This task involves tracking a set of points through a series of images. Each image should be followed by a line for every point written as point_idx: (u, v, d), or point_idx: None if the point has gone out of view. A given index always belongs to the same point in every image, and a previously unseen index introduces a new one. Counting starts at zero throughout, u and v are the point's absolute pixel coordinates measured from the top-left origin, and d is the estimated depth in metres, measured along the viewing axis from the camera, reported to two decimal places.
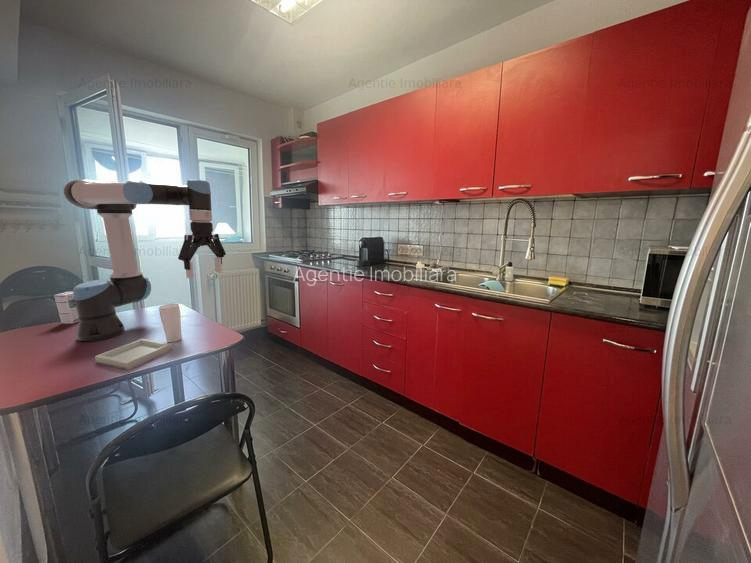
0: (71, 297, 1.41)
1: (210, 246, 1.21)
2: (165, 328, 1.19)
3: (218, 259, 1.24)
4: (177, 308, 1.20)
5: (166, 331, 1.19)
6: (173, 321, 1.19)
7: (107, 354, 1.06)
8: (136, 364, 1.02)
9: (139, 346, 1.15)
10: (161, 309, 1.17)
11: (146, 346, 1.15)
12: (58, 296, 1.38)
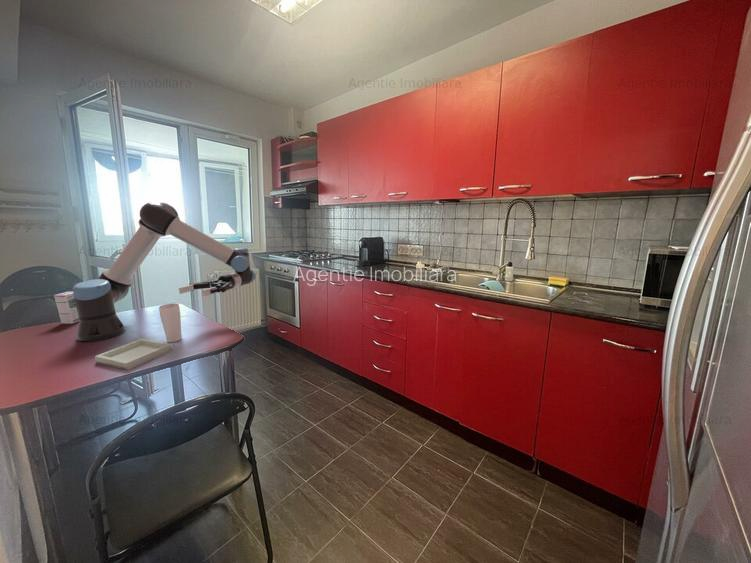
0: (71, 297, 1.41)
1: (207, 285, 1.40)
2: (165, 328, 1.19)
3: (192, 289, 1.36)
4: (177, 308, 1.20)
5: (166, 331, 1.19)
6: (173, 321, 1.19)
7: (107, 354, 1.06)
8: (136, 364, 1.02)
9: (139, 346, 1.15)
10: (161, 309, 1.17)
11: (146, 346, 1.15)
12: (58, 296, 1.38)
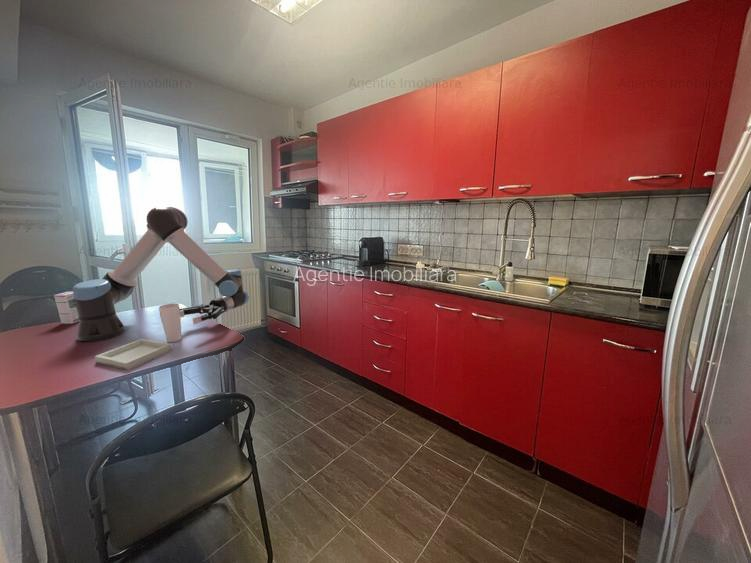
0: (71, 297, 1.41)
1: (198, 310, 1.36)
2: (165, 328, 1.19)
3: (182, 315, 1.32)
4: (177, 308, 1.20)
5: (166, 331, 1.19)
6: (173, 321, 1.19)
7: (107, 354, 1.06)
8: (136, 364, 1.02)
9: (139, 346, 1.15)
10: (161, 309, 1.17)
11: (146, 346, 1.15)
12: (58, 296, 1.38)
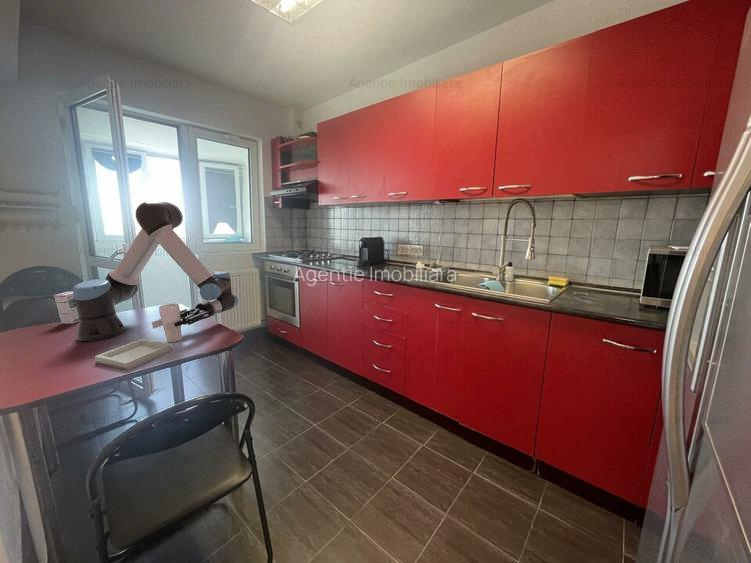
0: (71, 297, 1.41)
1: (184, 315, 1.29)
2: None
3: None
4: (177, 308, 1.20)
5: (166, 331, 1.19)
6: None
7: (107, 354, 1.06)
8: (136, 364, 1.02)
9: (139, 346, 1.15)
10: (161, 309, 1.17)
11: (146, 346, 1.15)
12: (58, 296, 1.38)
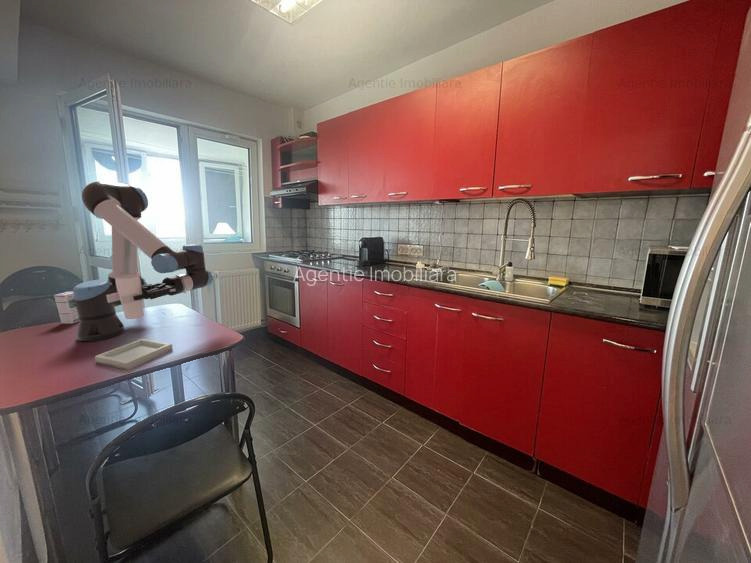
0: (71, 297, 1.41)
1: (147, 290, 1.13)
2: None
3: None
4: (137, 280, 1.04)
5: (124, 306, 1.04)
6: None
7: (107, 354, 1.06)
8: (136, 364, 1.02)
9: (139, 346, 1.15)
10: (117, 280, 1.01)
11: (146, 346, 1.15)
12: (58, 296, 1.38)
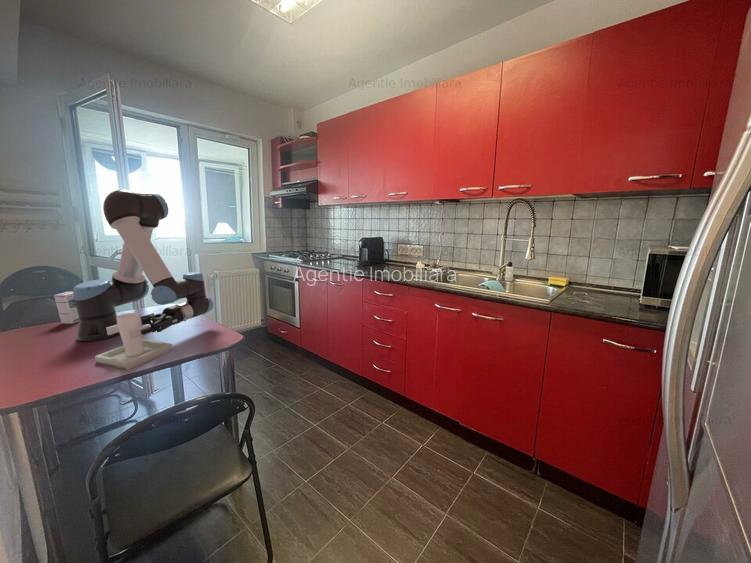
0: (71, 297, 1.41)
1: (147, 321, 1.15)
2: (124, 341, 1.05)
3: None
4: (138, 318, 1.06)
5: (125, 344, 1.05)
6: None
7: (107, 354, 1.06)
8: (136, 364, 1.02)
9: None
10: (118, 320, 1.03)
11: (146, 346, 1.15)
12: (58, 296, 1.38)
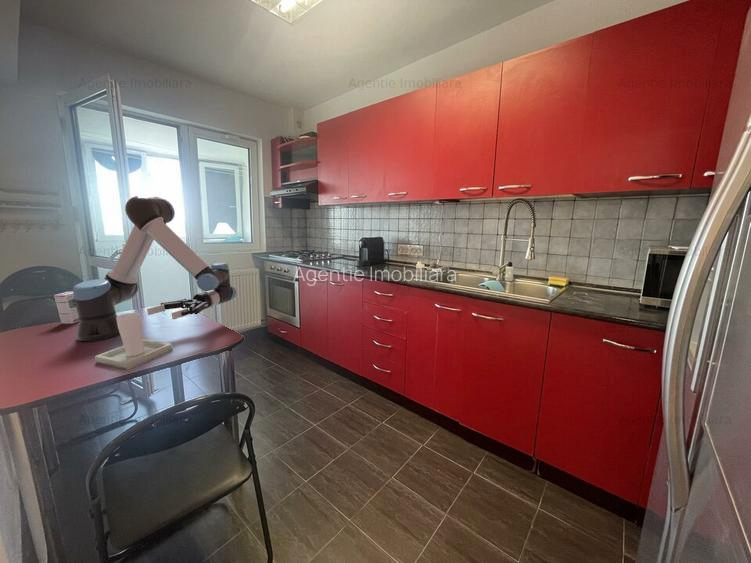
0: (71, 297, 1.41)
1: (180, 305, 1.28)
2: (123, 341, 1.05)
3: (162, 309, 1.24)
4: (137, 318, 1.06)
5: (125, 344, 1.05)
6: (133, 333, 1.05)
7: (107, 354, 1.06)
8: (136, 364, 1.02)
9: None
10: (118, 320, 1.03)
11: (146, 346, 1.15)
12: (58, 296, 1.38)
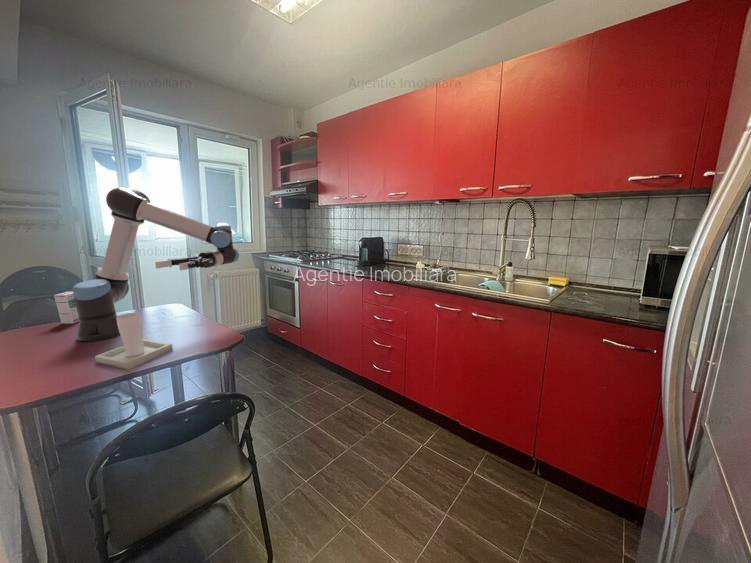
0: (71, 297, 1.41)
1: (186, 261, 1.35)
2: (124, 341, 1.05)
3: (170, 265, 1.31)
4: (137, 318, 1.06)
5: (125, 344, 1.05)
6: (133, 333, 1.05)
7: (107, 354, 1.06)
8: (136, 364, 1.02)
9: None
10: (118, 320, 1.03)
11: (146, 346, 1.15)
12: (58, 296, 1.38)
